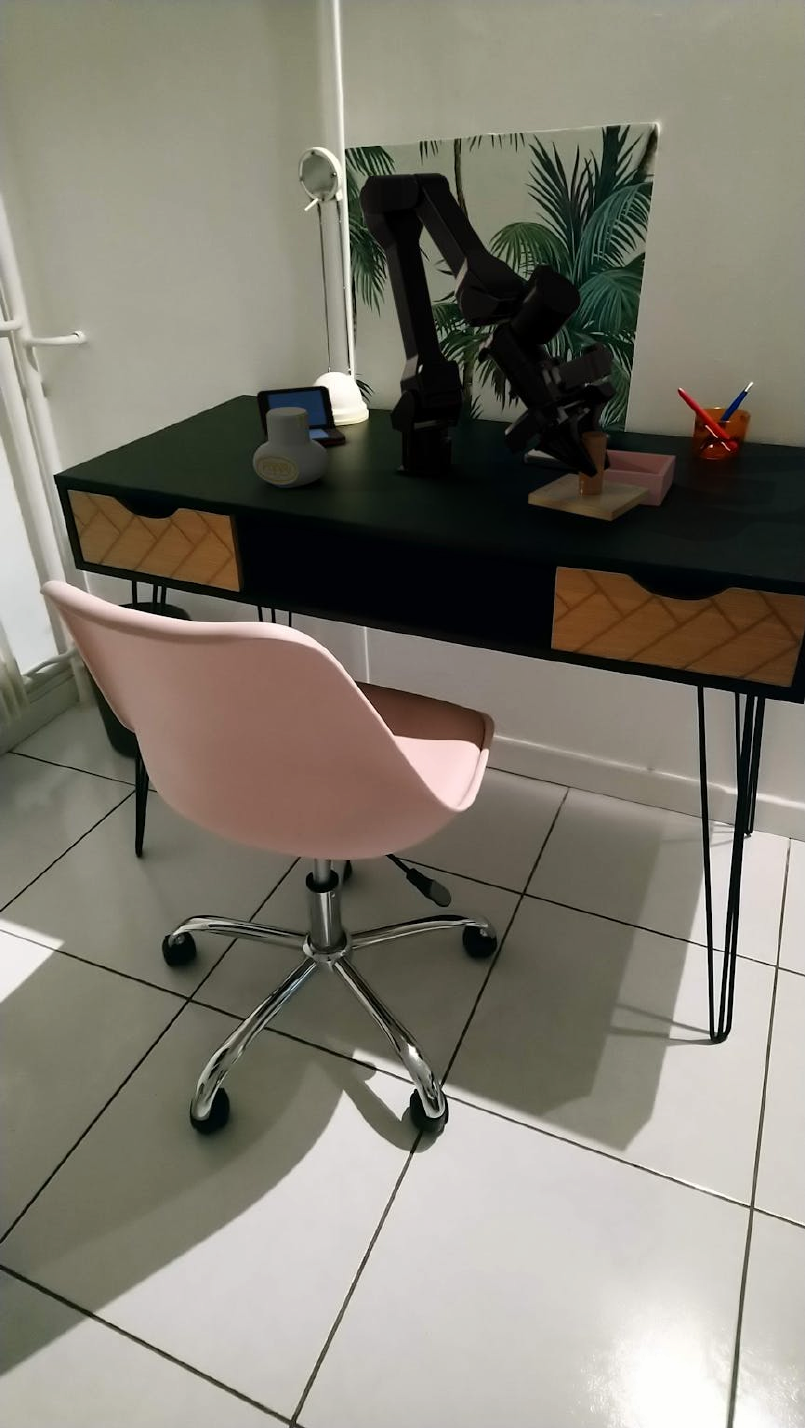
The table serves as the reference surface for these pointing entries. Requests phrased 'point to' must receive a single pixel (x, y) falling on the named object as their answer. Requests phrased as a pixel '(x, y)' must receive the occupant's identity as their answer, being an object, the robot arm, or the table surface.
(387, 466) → the table surface
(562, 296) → the robot arm
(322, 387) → the handheld console
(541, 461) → the phone case
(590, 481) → the wooden peg stand
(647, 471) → the toy box
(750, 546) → the table surface
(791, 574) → the table surface
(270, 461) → the air freshener
